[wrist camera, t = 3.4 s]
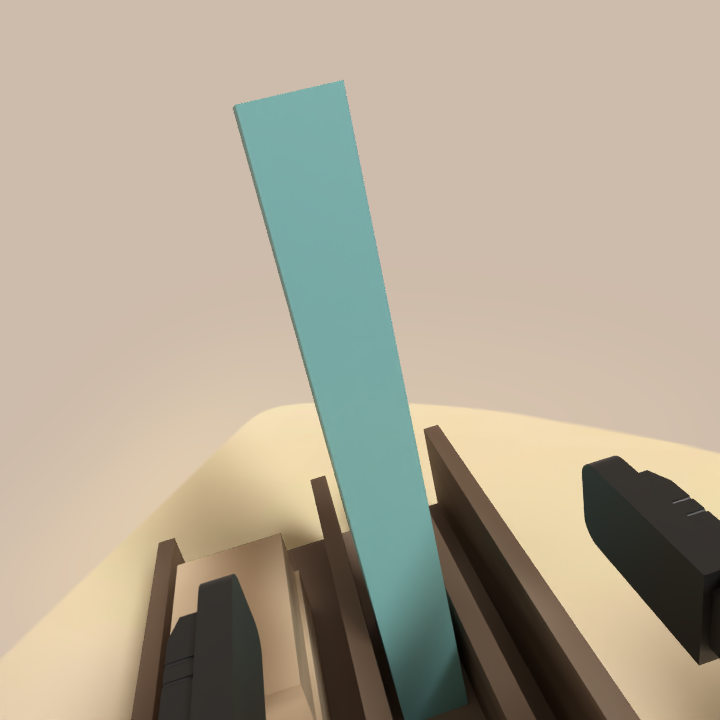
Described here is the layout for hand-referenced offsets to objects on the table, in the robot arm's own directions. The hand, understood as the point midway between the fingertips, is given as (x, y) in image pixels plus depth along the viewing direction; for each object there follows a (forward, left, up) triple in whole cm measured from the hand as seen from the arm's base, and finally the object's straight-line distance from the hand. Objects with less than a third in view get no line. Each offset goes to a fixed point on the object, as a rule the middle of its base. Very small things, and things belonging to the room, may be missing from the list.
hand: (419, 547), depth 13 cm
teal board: (0, +7, -13) cm, 14 cm away
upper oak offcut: (-7, +8, -10) cm, 14 cm away
